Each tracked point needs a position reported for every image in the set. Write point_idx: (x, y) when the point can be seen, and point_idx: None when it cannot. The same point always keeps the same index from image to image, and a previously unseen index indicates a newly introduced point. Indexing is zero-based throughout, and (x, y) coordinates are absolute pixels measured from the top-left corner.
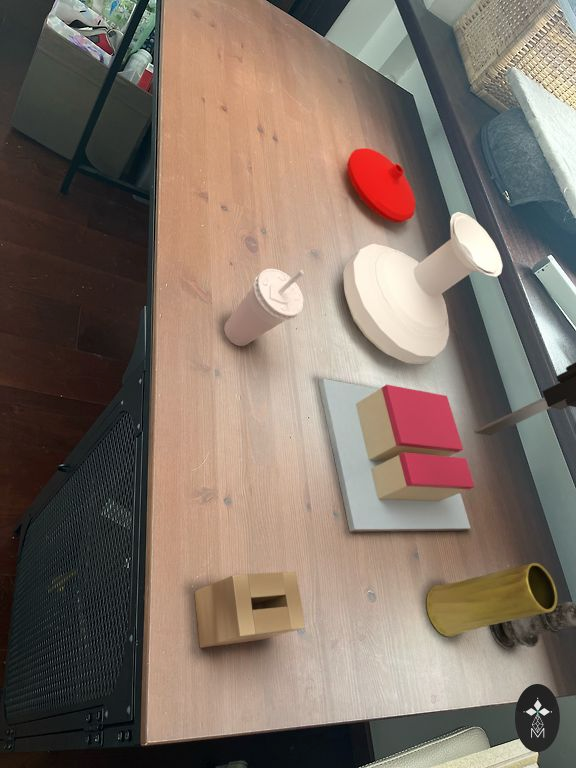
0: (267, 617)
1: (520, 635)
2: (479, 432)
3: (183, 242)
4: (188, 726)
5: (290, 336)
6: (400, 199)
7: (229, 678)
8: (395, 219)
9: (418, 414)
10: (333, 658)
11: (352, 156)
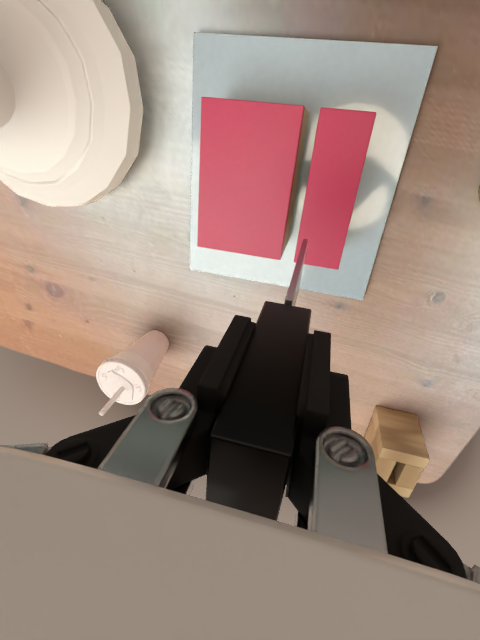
0: (406, 479)
1: None
2: (300, 280)
3: (85, 358)
4: (441, 471)
5: (145, 282)
6: None
7: (429, 442)
8: None
9: (238, 201)
10: (467, 365)
11: None
